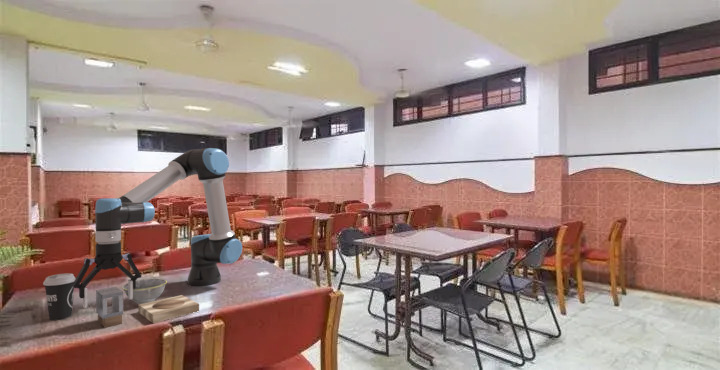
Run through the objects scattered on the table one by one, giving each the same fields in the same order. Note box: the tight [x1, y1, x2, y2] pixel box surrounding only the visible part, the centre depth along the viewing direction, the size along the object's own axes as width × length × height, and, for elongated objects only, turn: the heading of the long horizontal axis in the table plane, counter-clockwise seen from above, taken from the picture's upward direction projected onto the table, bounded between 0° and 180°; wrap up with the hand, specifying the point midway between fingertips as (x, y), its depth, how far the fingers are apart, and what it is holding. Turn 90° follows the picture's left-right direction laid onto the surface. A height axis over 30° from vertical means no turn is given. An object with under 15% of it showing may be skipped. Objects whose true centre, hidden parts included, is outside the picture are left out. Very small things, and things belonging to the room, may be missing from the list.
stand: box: [97, 314, 123, 328], centre depth 134 cm, size 10×5×3 cm, turn 46°
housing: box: [95, 286, 124, 319], centre depth 134 cm, size 9×6×8 cm, turn 46°
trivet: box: [137, 294, 200, 324], centre depth 144 cm, size 16×16×3 cm
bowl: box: [121, 278, 168, 305], centre depth 156 cm, size 16×16×8 cm
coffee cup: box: [42, 273, 76, 321], centre depth 139 cm, size 10×10×15 cm
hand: (108, 302), depth 134 cm, fingers open, 13 cm apart
